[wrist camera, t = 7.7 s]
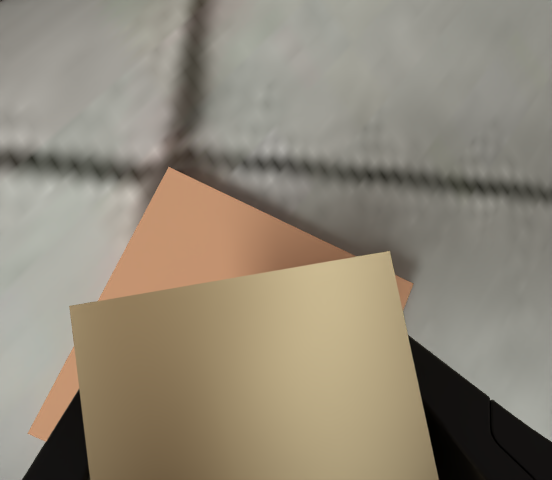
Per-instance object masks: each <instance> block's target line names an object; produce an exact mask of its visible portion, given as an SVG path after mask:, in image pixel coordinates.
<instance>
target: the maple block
mask: <svg viewBox="0 0 552 480" xmlns="http://www.w3.org/2000/svg"><path fill="white" fill-rule="evenodd" d="M69 307H70V315H71V323H72V332H73V340H74V348H75V357H76V365H77V374H78V382H79V390H80V399H81V407H82V415H83V424H84V432H85V440H86V449H87V457H88V465H89V474H90V480H439V478H438V473H437V469H436V464H435V459H434V455H433V450H432V445H431V441H430V436H429V431H428V427H427V422H426V417H425V413H424V408H423V403H422V399H421V394H420V389H419V385H418V380H417V376H416V371H415V366H414V362H413V357H412V352H411V348H410V343H409V338H408V334H407V329H406V324H405V320H404V315H403V310H402V306H401V301H400V296H399V292H398V287H397V282H396V278H395V273H394V268H393V264H392V259H391V254H390V251H387V252H381V253H375V254H369V255H364V256H358V257H352V258H346V259H340V260H334V261H329V262H323V263H317V264H311V265H305V266H300V267H294V268H288V269H282V270H276V271H270V272H265V273H259V274H253V275H247V276H241V277H236V278H230V279H224V280H218V281H212V282H207V283H201V284H195V285H189V286H183V287H177V288H172V289H166V290H160V291H154V292H148V293H143V294H137V295H131V296H125V297H119V298H113V299H108V300H102V301H96V302H90V303H84V304H79V305H73V306H69Z"/></svg>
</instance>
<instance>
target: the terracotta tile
mask: <svg viewBox="0 0 552 480" xmlns="http://www.w3.org/2000/svg"><path fill="white" fill-rule="evenodd" d="M352 257H357V256H354V255H352V254H350V253H348V252H346V251H344V250H342V249H340V248H338V247H336V246H334V245H331V244H329V243H327V242H325V241H323V240H321V239H319V238H317V237H315V236H313V235H310V234H308V233H306V232H304V231H302V230H300V229H298V228H296V227H294V226H292V225H289V224H287V223H285V222H283V221H281V220H279V219H277V218H275V217H273V216H271V215H268V214H266V213H264V212H262V211H260V210H258V209H256V208H254V207H252V206H250V205H248V204H245V203H243V202H241V201H239V200H237V199H235V198H233V197H231V196H229V195H227V194H224V193H222V192H220V191H218V190H216V189H214V188H212V187H210V186H208V185H206V184H203V183H201V182H199V181H197V180H195V179H193V178H191V177H189V176H187V175H185V174H182V173H180V172H178V171H176V170H174V169H172V168H170V167H169V168H168V169H167V171H166V173H165V175H164V177H163V179H162V181H161V183H160V185H159V186H158V188H157V190H156V192H155V194H154V196H153V198H152V200H151V202H150V203H149V205H148V207H147V209H146V211H145V213H144V215H143V217H142V219H141V220H140V222H139V224H138V226H137V228H136V230H135V232H134V234H133V236H132V237H131V239H130V241H129V243H128V245H127V247H126V249H125V251H124V253H123V254H122V256H121V258H120V260H119V262H118V264H117V266H116V268H115V270H114V271H113V273H112V275H111V277H110V279H109V281H108V283H107V285H106V287H105V288H104V290H103V292H102V294H101V296H100V298H99V300H98V301H102V300H108V299H113V298H119V297H125V296H131V295H137V294H143V293H148V292H154V291H160V290H166V289H172V288H177V287H183V286H189V285H195V284H201V283H207V282H212V281H218V280H224V279H230V278H236V277H241V276H247V275H253V274H259V273H265V272H270V271H276V270H282V269H288V268H294V267H300V266H305V265H311V264H317V263H323V262H329V261H334V260H340V259H346V258H352ZM395 278H396V282H397V287H398V292H399V296H400V301H401V306H402V310H403V309H404V307H405V304H406V302H407V299H408V297H409V294H410V292H411V289H412V286H413V283H411V282H409V281H407V280H405V279H403V278H401V277H399V276H396V275H395ZM78 389H79V382H78V374H77V365H76V357H75V348H74V347H73V349H72V351H71V353H70V355H69V356H68V358H67V360H66V362H65V364H64V366H63V368H62V370H61V372H60V373H59V375H58V377H57V379H56V381H55V383H54V385H53V387H52V389H51V390H50V392H49V394H48V396H47V398H46V400H45V402H44V404H43V406H42V407H41V409H40V411H39V413H38V415H37V417H36V419H35V421H34V423H33V424H32V426H31V428H30V430H29V432H28V434H30V435H32V436H34V437H37V438H39V439H41V440H43V441H47V439H48V438H49V436H50V434H51V433H52V431H53V430H54V428H55V426H56V425H57V423H58V421H59V420H60V418H61V417H62V415H63V413H64V412H65V410H66V409H67V407H68V405H69V404H70V402H71V401H72V399H73V397H74V396H75V394H76V393H77V391H78Z"/></svg>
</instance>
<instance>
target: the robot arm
mask: <svg viewBox="0 0 552 480" xmlns="http://www.w3.org/2000/svg"><path fill="white" fill-rule="evenodd" d="M408 338H409V343H410V348H411V352H412V357H413V362H414V366H415V371H416V376H417V380H418V385H419V389H420V394H421V399H422V403H423V408H424V413H425V417H426V422H427V427H428V431H429V436H430V441H431V445H432V450H433V455H434V459H435V464H436V469H437V473H438V478H439V480H552V442H551V441H549V440H548V439H546V438H545V437H543V436H542V435H540V434H539V433H538V432H536V431H535V430H533V429H532V428H530V427H529V426H527V425H526V424H525V423H523V422H522V421H521V420H519V419H518V418H516V417H515V416H514V415H512V414H511V413H510V412H508V411H507V410H506V409H504V408H503V407H502V406H500V405H499V404H498V403H496V402H495V401H494V400H490V398H489V397H488V396H487V395H486V394H484V393H483V392H482V391H481V390H479V389H478V388H477V387H475V386H474V385H473V384H471V383H470V382H469V381H467V380H466V379H465V378H464V377H462V376H461V375H460V374H458V373H457V372H456V371H454V370H453V369H452V368H450V367H449V366H448V365H447V364H445V363H444V362H443V361H441V360H440V359H439V358H437V357H436V356H435V355H434V354H432V353H431V352H430V351H428V350H427V349H426V348H424V347H423V346H422V345H420V344H419V343H418V342H417V341H415V340H414V339H413V338H411V337H410V336H409V335H408ZM22 480H90V474H89V465H88V457H87V449H86V440H85V432H84V424H83V415H82V407H81V399H80V390H79V389H78V391H77V393H76V394H75V396H74V397H73V399H72V401H71V402H70V404H69V405H68V407H67V409H66V410H65V412H64V413H63V415H62V417H61V418H60V420H59V421H58V423H57V425H56V426H55V428H54V430H53V431H52V433H51V434H50V436H49V438H48V439H47V441H46V442H45V444H44V446H43V447H42V449H41V450H40V452H39V454H38V455H37V457H36V458H35V460H34V462H33V463H32V465H31V466H30V468H29V470H28V471H27V473H26V474H25V476H24V478H23V479H22Z"/></svg>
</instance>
